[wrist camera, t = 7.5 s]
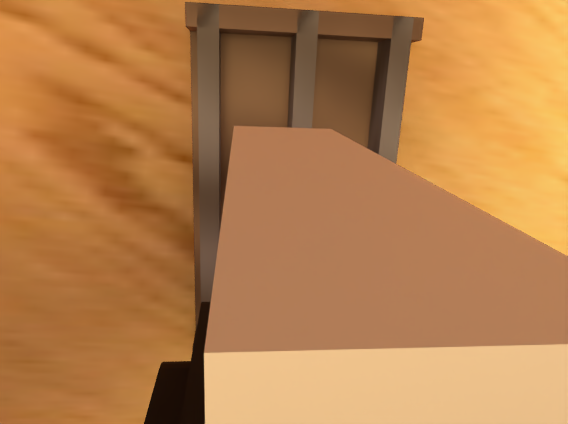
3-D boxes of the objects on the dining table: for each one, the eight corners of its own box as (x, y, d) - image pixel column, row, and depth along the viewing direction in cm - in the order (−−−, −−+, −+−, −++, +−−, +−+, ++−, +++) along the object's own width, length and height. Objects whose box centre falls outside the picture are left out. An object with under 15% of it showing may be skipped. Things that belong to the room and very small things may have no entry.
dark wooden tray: (365, 330, 29) (380, 357, 26) (197, 334, 27) (192, 363, 24) (400, 25, 23) (424, 17, 20) (192, 12, 22) (185, 1, 19)
